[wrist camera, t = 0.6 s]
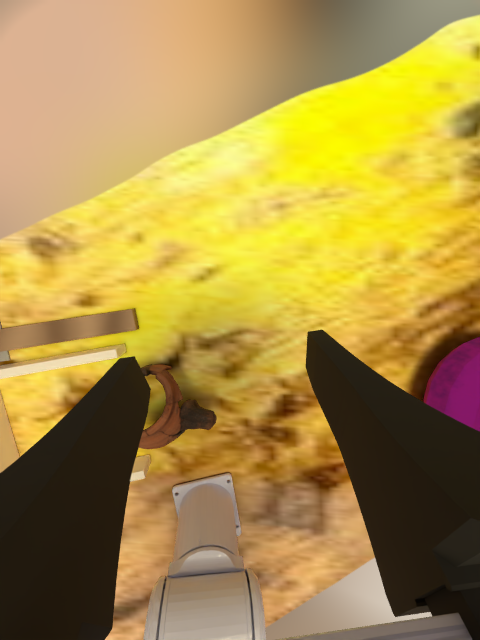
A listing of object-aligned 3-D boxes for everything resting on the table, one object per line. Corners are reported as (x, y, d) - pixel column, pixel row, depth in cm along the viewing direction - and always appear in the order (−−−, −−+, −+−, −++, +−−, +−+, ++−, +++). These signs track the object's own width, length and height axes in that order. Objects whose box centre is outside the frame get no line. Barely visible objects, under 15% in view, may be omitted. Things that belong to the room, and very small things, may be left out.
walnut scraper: (133, 298, 30) (129, 298, 29) (141, 337, 31) (138, 340, 29) (-47, 324, 28) (-61, 326, 27) (-34, 366, 29) (-47, 370, 27)
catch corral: (150, 461, 32) (145, 478, 30) (20, 490, 31) (0, 511, 28) (124, 343, 30) (115, 349, 28) (-17, 368, 29) (-43, 377, 26)
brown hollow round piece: (129, 440, 32) (86, 447, 25) (145, 368, 36) (112, 355, 28) (218, 451, 31) (202, 462, 23) (227, 374, 34) (215, 362, 27)
